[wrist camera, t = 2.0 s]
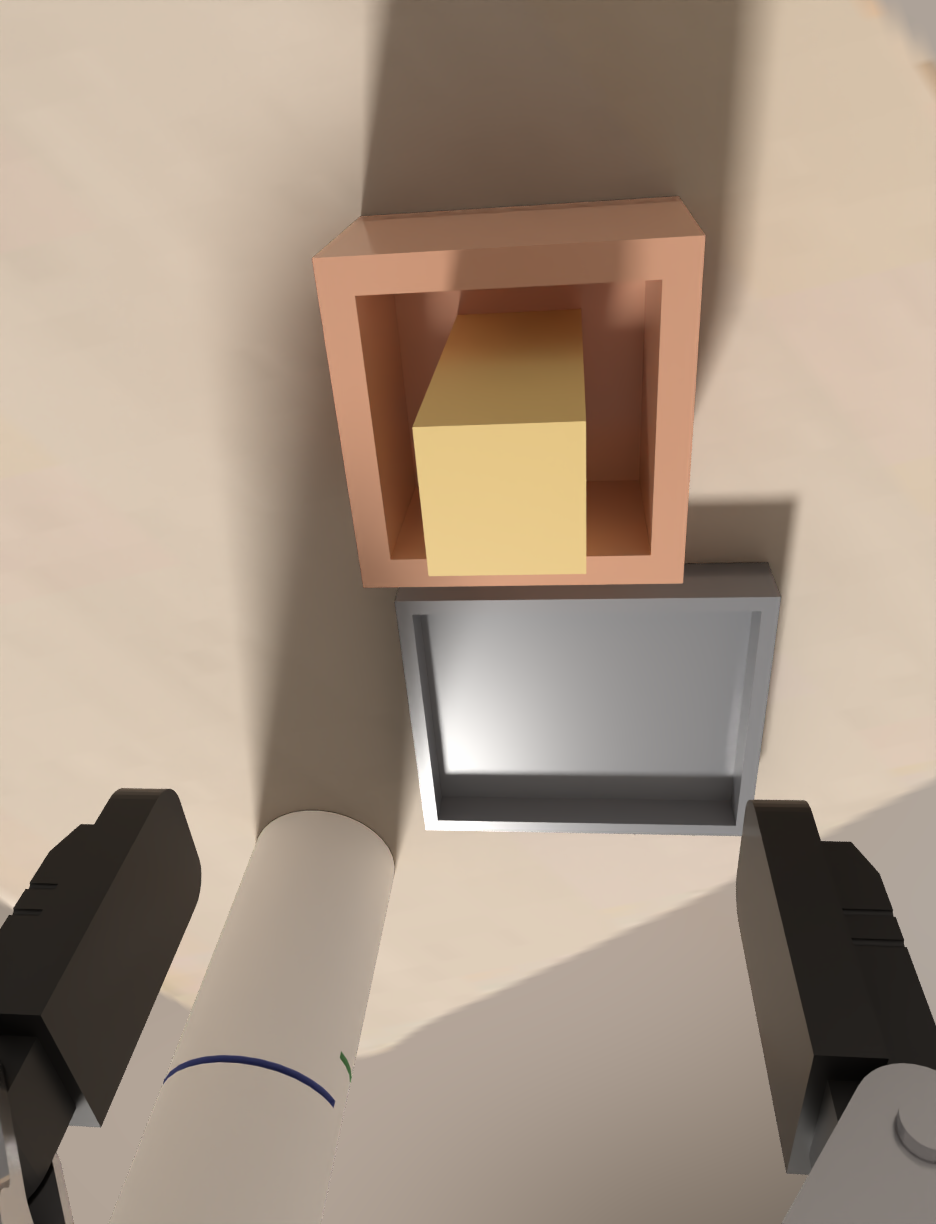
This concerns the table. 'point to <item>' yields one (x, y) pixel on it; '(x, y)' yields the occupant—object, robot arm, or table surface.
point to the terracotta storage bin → (521, 282)
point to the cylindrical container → (269, 1036)
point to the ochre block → (505, 447)
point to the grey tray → (591, 702)
